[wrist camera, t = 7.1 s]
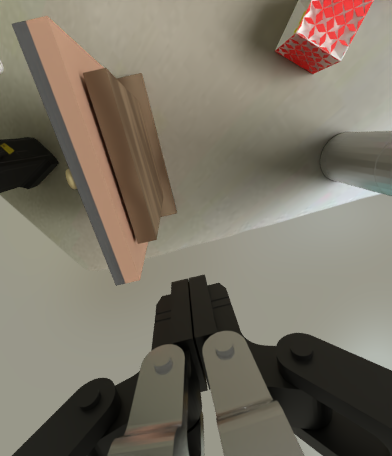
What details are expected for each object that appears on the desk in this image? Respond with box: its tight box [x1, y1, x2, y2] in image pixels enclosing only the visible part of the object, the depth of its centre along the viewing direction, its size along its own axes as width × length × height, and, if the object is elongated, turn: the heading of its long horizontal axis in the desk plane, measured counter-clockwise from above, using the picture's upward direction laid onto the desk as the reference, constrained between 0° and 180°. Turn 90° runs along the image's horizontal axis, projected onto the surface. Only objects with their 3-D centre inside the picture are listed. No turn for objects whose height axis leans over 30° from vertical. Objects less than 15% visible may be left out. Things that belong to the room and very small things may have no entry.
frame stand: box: [83, 68, 177, 244], centre depth 35 cm, size 10×24×24 cm, turn 12°
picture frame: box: [12, 16, 148, 286], centre depth 29 cm, size 3×22×16 cm, turn 12°
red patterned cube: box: [275, 0, 374, 74], centre depth 38 cm, size 8×8×8 cm
